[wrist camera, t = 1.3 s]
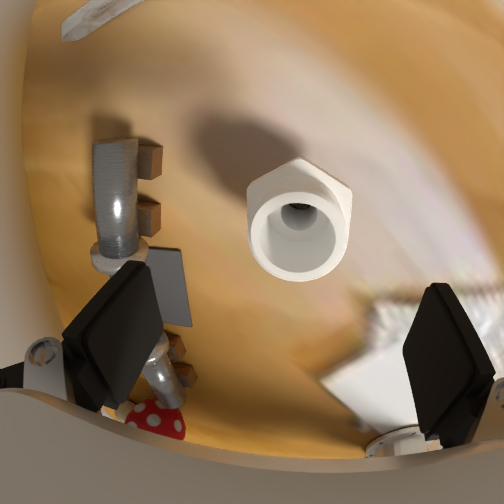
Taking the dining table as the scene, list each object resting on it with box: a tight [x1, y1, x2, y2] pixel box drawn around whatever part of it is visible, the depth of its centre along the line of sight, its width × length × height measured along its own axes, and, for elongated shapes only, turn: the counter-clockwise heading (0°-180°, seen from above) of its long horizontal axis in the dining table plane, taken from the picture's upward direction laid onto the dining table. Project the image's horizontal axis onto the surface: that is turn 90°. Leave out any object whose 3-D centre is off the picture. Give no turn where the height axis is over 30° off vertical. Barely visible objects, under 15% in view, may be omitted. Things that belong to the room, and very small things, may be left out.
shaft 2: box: [141, 331, 197, 409], centre depth 31 cm, size 10×5×6 cm, turn 8°
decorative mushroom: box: [115, 398, 186, 441], centre depth 38 cm, size 11×11×15 cm
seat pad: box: [109, 248, 192, 327], centre depth 28 cm, size 9×9×1 cm
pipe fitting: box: [247, 157, 353, 282], centre depth 18 cm, size 6×7×8 cm
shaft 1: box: [90, 138, 163, 275], centre depth 21 cm, size 10×5×6 cm, turn 172°
